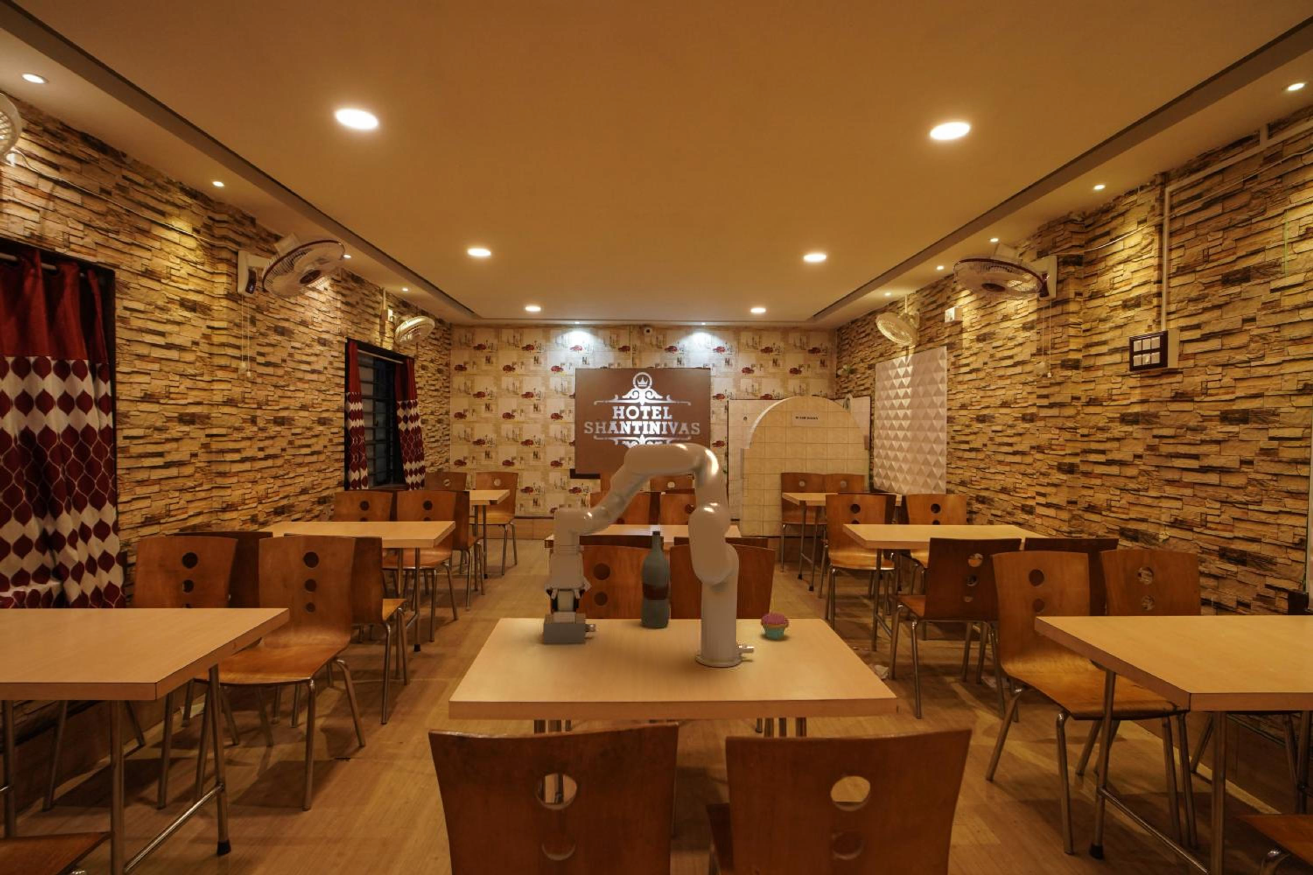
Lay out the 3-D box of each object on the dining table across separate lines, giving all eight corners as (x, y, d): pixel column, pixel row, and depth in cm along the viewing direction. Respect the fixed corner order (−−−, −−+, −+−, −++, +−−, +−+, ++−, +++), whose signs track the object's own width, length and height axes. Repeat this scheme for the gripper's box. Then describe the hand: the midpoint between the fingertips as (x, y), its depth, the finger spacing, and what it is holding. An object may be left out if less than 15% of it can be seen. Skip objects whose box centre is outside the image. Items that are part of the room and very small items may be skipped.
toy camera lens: (574, 611, 188) (574, 585, 188) (573, 616, 184) (574, 589, 184) (557, 611, 188) (557, 585, 188) (556, 616, 183) (556, 589, 183)
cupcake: (755, 633, 193) (756, 594, 193) (780, 631, 196) (780, 593, 196) (768, 642, 185) (769, 601, 185) (794, 640, 187) (794, 600, 187)
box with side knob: (595, 630, 194) (595, 601, 194) (595, 643, 182) (596, 612, 182) (546, 631, 192) (546, 602, 192) (543, 644, 180) (543, 613, 180)
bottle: (637, 628, 197) (638, 532, 197) (644, 619, 206) (645, 528, 206) (666, 630, 195) (667, 533, 195) (672, 622, 204) (673, 529, 204)
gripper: (595, 547, 190) (594, 607, 190) (538, 547, 189) (537, 608, 189) (595, 551, 183) (594, 614, 183) (535, 552, 181) (535, 615, 181)
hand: (565, 610), depth 186 cm, fingers closed on toy camera lens, 5 cm apart
